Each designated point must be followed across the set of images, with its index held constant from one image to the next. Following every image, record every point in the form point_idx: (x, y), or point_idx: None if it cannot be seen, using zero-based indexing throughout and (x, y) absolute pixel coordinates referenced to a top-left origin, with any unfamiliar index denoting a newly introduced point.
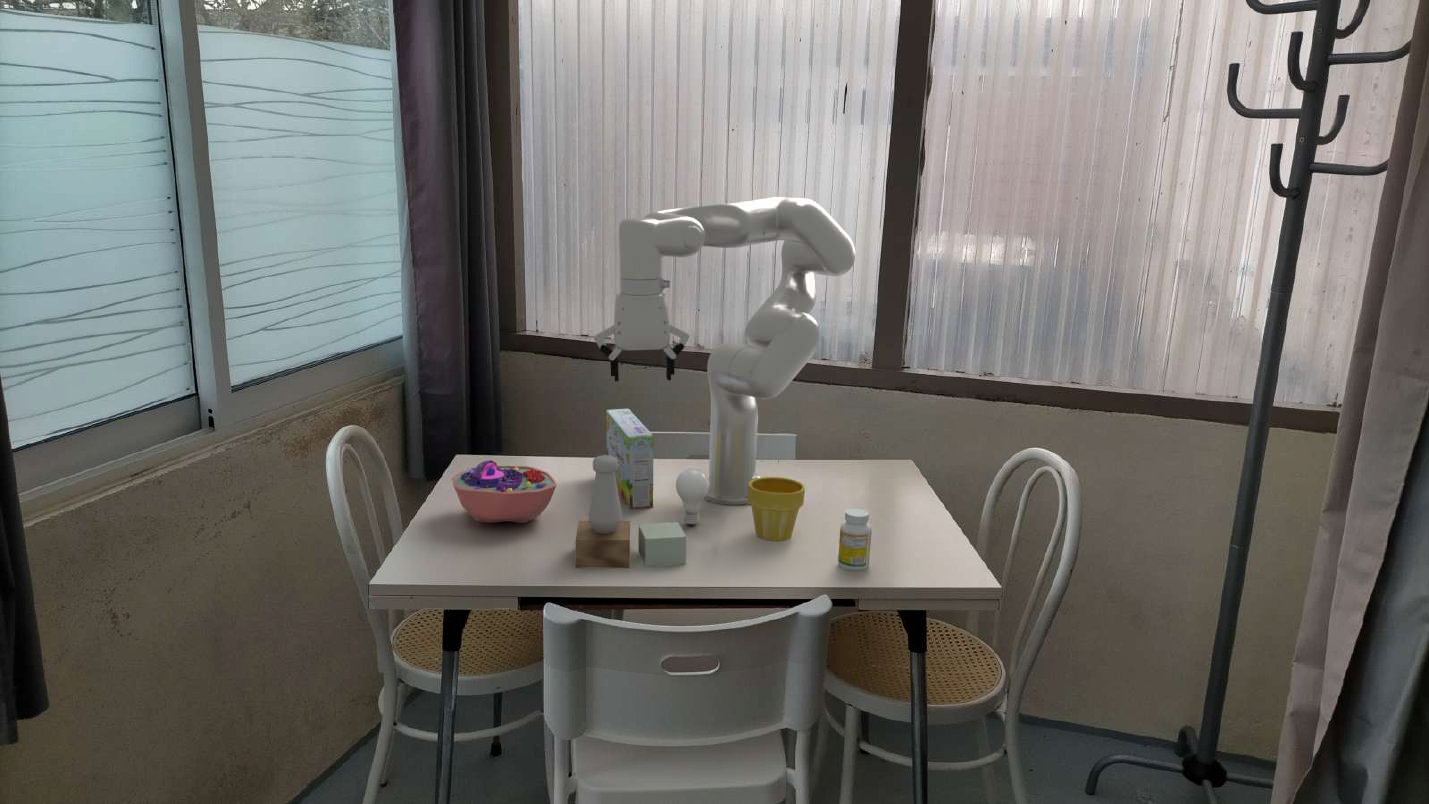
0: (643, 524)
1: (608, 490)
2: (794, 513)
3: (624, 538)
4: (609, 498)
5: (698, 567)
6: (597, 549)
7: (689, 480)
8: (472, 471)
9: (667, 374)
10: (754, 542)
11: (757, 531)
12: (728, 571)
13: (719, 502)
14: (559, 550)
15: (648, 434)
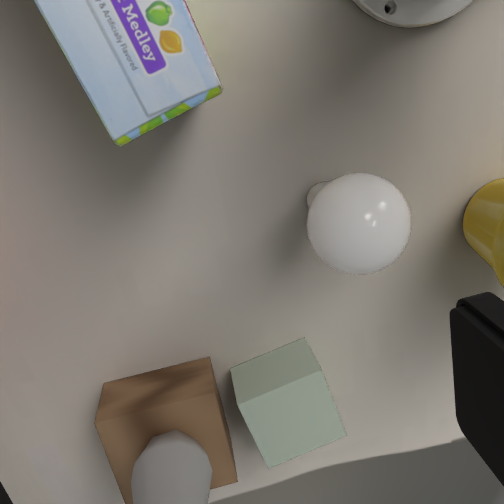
0: (248, 402)
1: None
2: None
3: (225, 478)
4: None
5: (351, 402)
6: None
7: (360, 274)
8: None
9: (489, 464)
10: (455, 265)
11: (471, 244)
12: (402, 403)
13: (385, 22)
14: (69, 405)
15: (196, 80)
